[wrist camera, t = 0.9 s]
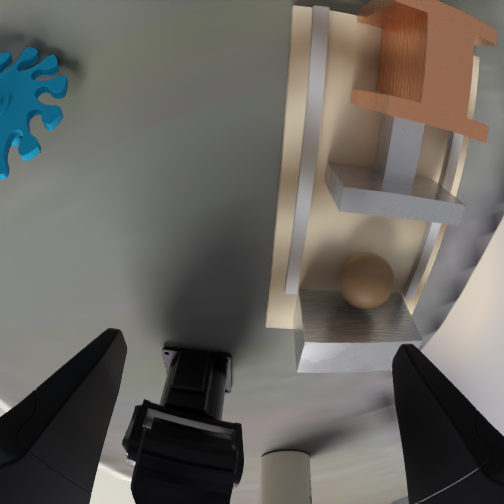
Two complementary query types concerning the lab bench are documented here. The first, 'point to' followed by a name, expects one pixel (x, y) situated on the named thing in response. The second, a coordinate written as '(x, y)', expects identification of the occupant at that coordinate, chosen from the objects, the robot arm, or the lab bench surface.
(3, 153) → the gear
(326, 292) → the brushed steel block
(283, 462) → the travel mug
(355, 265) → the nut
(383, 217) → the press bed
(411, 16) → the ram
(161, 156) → the lab bench surface
